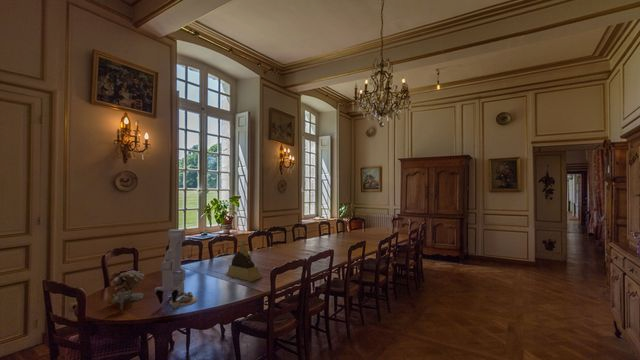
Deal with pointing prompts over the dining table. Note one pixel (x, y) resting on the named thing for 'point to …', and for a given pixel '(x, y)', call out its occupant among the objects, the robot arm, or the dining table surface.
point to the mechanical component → (122, 297)
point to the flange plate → (186, 302)
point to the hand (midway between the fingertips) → (167, 303)
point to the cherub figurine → (128, 285)
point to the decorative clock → (243, 265)
